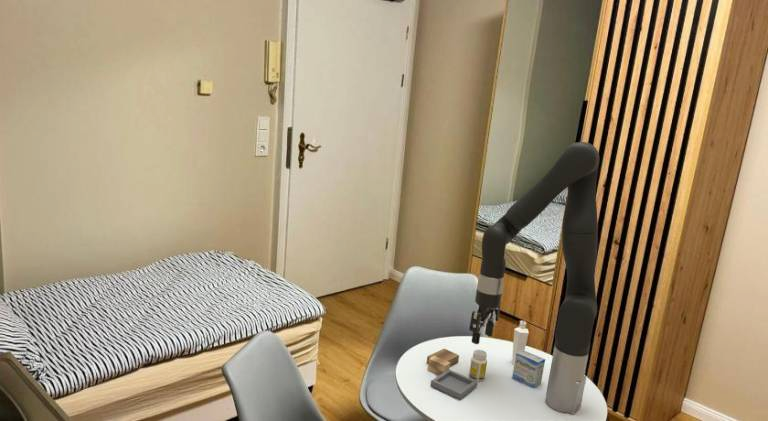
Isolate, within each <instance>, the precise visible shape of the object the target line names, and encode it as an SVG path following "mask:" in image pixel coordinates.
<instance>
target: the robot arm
mask: <svg viewBox="0 0 768 421" xmlns="http://www.w3.org/2000/svg"><path fill="white" fill-rule="evenodd" d="M599 165H600V153H599V151H598V149H597V148H596V147H595V145H593V144H592V143H589V142H586V141H579V142H574V143H571V144H570V145H567V147H566V148H565V149H564V150H563V152H562V154H560V156H559V158H557V160H556V162H555V163H554V164H553V166H552V167H551V168H550V169H549V170H548V172H547V173H546V174H545V175H544V176H543V177H542V178H541V179H540V180H538V182H537V183H535V184H534V185H533V186H532V187H530V189H529V190H527V192H525V193H523V195H522V196H521V197H519V198H518V199H517V200H516V201H515V202H514V203H513V204H512V205H511V206H509V207H510V208H508V209H507V210H506V212H505V214H504V215H503V216H501V217H500V218H499V219H498V220H496V222H494V223H493V224H491V225H490V226H489V227H487V228H486V229H485V230H484V232H483V234H482V239H481V257H482V259H481V263H480V269H479V274H478V275H479V276H478V279H477V283H476V284H477V285H476V290H475V291H476V292H475V298H474V299H475V300H474V302H475V304H477V305H478V308H477V310H476V311H475V310H473V311H472V312H471V318H470V323H469V328H468V329H469V331H470V332H472V336H471V343H472V344H474V345H479V344H480V339H481V334H482V333H481V332H482V330H483V328H485V331H484V335H486V336H487V337H492V336H493V333H494V327H495V325H496V322H498V321H499V318H500V310H501V302H502V297H503V289H504V280H505V279H504V278H505V277H504V276H505V271H506V259H505V253H506V252H505V250H506V246H507V245H508V244H509V243H510V242H511V241H513V239H514V238H515V237H516V236H517V235H518V234H519V233H520V232H521V231H522V230H523V229H525V228H527V226H529V224H531V223H532V222H533V221H534V220H535V219H536V218H538V216H540V215H541V214H542V213H543V212H544V211H545V210H546V209H547V207H548V206H549V205H550V204H551V203H552V202H553V200H555V199H556V198H557V196H559V194H561V193H562V192H563V191H564V190H566V189H567V194H566V195H567V196H566V203H565V207H564V213H563V218H562V224H561V226H562V228H561V230H562V231H561V246H562V247H561V248H562V255H563V260H564V262H565V263H564V264H565V268H566V289H565V296H564V300H563V302H562V304H561V305H560V307H559V311H558V316H557V322H556V328H555V335H554V336H555V337H554V338H555V341H554V346H553V352H552V357H551V358H552V359H551V365H550V370H549V376H548V381H547V386H546V387H547V388H546V392H545V397H544V398H545V403H546V404H547V406H549V407H550V408H551V409H553V410H556V411H558V412H562V413H568V414H571V415H575V414H576V413H577V411H578V410H579V409H580V408H581V406H582V402H583V396H584V391H585V385H586V382H587V380H586V379H587V376H586V375H585V374H586V369H587V363H588V359H589V353H590V348H591V339H592V334H593V329H594V328H593V327H594V324H595V320H596V317H597V314H598V303H597V295H596V283H595V281H596V280H595V273H596V265H597V258H598V257H597V256H598V244H599V243H598V240H599V236H598V235H599V231H598V230H599V226H598V206H597V194H596V192H597V182H598V181H597V179H598V171H599Z"/></svg>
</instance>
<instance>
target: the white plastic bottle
mask: <svg viewBox="0 0 768 421" xmlns="http://www.w3.org/2000/svg"><path fill="white" fill-rule="evenodd" d="M526 326H527V322H526V321H525V320H519V326H518V327H516V328H514V333H513V343H512V356H511V357H512V359H511V361H510V364H511V363H512V364H511V365H513V366H514V363H515V358H516V353H518V352H519V351H521V350H524V351H526V346H527V342H528V337H529V333H530V332H529V329H528V328H526Z"/></svg>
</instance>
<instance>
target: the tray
mask: <svg viewBox="0 0 768 421" xmlns="http://www.w3.org/2000/svg"><path fill="white" fill-rule="evenodd" d="M478 383H479V381H475V380H473V379H471V378H470V377H468V376H466V375H464V374H461V373H459V372H456V371H455V370H452V369H451V368H450V369H448V370H447V371H445V372H444V373H442V374H440V375H436V377H434V378H433V379H431V380H430V387H431V388H432V389H435V390H437V391H439V392H441V393H443V394H444V395H445V394H446V395H447V396H449V397H452V398H453V399H456V400H458V401H461V400H462V399H464V398H465V397H466V396H468V395H469V394H470V393H472V392H473V391H474V390H476V389H477V388H478Z"/></svg>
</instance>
